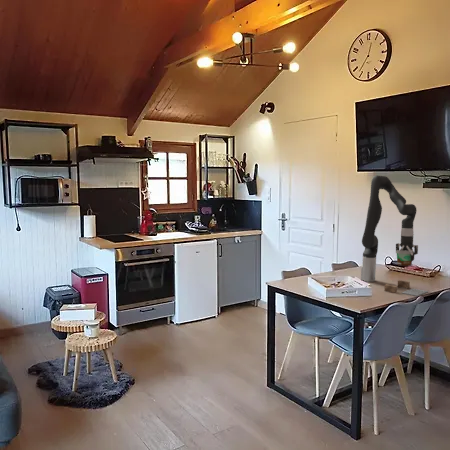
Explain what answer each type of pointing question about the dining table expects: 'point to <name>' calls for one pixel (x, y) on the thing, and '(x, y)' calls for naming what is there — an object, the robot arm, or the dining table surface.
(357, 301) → the dining table surface
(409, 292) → the slate pad
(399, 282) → the clamp blocks
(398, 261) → the food container
